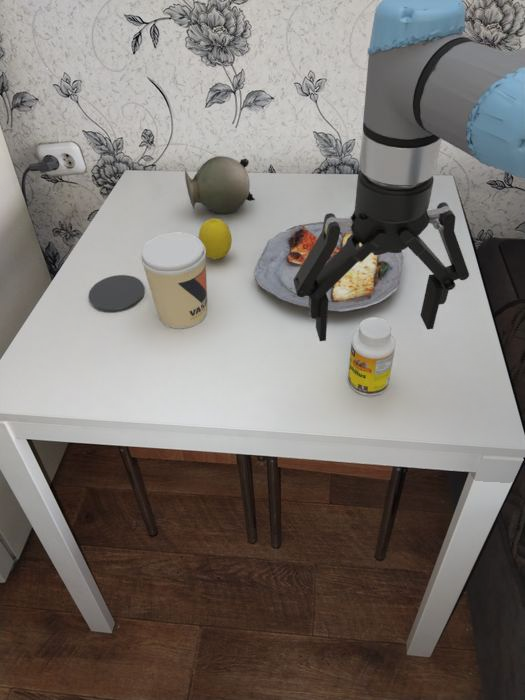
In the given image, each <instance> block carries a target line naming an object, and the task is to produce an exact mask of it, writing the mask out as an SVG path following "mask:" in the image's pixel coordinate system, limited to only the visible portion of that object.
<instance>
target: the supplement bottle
mask: <svg viewBox="0 0 525 700" xmlns="http://www.w3.org/2000/svg"><path fill="white" fill-rule="evenodd" d="M350 343H351V344H350V351H349V352H350V353H349V362H348V363H349V364H348V372H347V373H348V374H347V380H348V381H347V382H348V384H349V386H350V387H351V388H352V390H353V391H355V392H356V393H358V394H359V395H360V394H361V395H363V396H376V395H380V394H382V393H383V392H384V391H385V390H387V388H388V386H389V383H390V379H391V374H392V373H391V372H392V368H393V362H394V356H395V349H396V338H395V337H394V335H393V334H392V326H391V324H390V323H389V322H388V321H387V320H386V319H383V318H381V317H373V316H372V317H367V318H365V319H363V320H362V321H361V322H360V324H359V326H358V329H357V330H356V331H355V332H354V333H353V335H352V336H351V342H350Z"/></svg>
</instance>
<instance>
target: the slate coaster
mask: <svg viewBox="0 0 525 700" xmlns="http://www.w3.org/2000/svg"><path fill="white" fill-rule="evenodd" d="M144 285H145V284H144V283H143V282H142V281H141V280H140V279H139V278H137V277H135V276H132V275H128V274H118V275H111V276H108V277H105V278H103V279H101V280H99V281H98V282H96V283H95V284H94V285H92V287H91V288H90V290H89V292H88V300H89V303H90V305H91V306H92V307H93V308H94V309H95V310H98V311H100V312H104V313H118V312H119V313H120V312H123V311H127V310H129V309H131V308H134V306H135V307H136V305H137V304H139V302H141V301H142V300H143V298H144V296H145V293H146V290H145V286H144Z"/></svg>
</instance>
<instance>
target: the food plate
mask: <svg viewBox="0 0 525 700" xmlns="http://www.w3.org/2000/svg"><path fill="white" fill-rule="evenodd" d="M323 223H324V221H320V222H313V223H311V222H310V223H304V224H298V225H294V226H292V227H290V228H289V229H286V230H285V231H283V232H281V231H280V232H279V233H278V234H277V235H275V236H274V237H272V238H270V239H269V240H268V241H267V243H266V245H265V247H264V249H263V251H262V253H261V255H260V258H259V259H258V261H257V263H256V266H255V268H254V272H253V273H254V278H255V280H256V282H257V284H258V285H259V287H261V288H262V289H263V290H265V291H266V292H267V293H271V294H272V295H273V296H275V297H277V298H278V299H280V300H282V301H284V302H287V303H289V304H294V305H296V306H300V307H305V308H308V304H309V296H304V297H298V296H297V293H296V289H295V286H294V282H293V280H294V278H295V276H296V274H297V273H298V271H299V269H300V268H301V266H302V264H303V263H304V261H305V259H306V258H307V256H308V254H309V253H310V251H311V249H312V247H313V246H314V244H315V242H316V241H317V239H318V237H319V236H320V234H321V232H322V229H323ZM352 234H353V233H352V231H348V232H346V233H345V235H344V236H343V239H342V240H341V241H339V240H338V243H337V246H336V248H335V250H334V251H333V253H332V255H331V256H330V258H329V259H328V261H327V263H328V262H329V261H330V260H331V258H332V257H333V256H334V255H335V254H336V253H337V252H338V251H339V250H340V249H341V248H342V247H343V246H344V245H345V244H346V241H347V239H348V238H349V237H350V236H351V235H352ZM359 246H360V247H361V246H362V244H361V243H359ZM404 258H405V256H404V254H403V251H402V252H401V253H389V252H387V253H384V254H381V255H374V254H373V253H370V254H369V255H368V256H367V257H366V258H365V259H364V260H363V261H362V262H357V263H356V264H355V265H354V266H353V267H352V268H351V269H350V270H349V271H348V272H347V273H346V274H345V275H344V276H343V277H342V278H341V279H340V280H339V281H338V282H337V283H336V284H335V285H334V286H333V287H332V288H331V289H330V290H329V291H328V292H327V293H326V294H327V297H328V311H331V312H350V311H353V310H358V309H359V310H360V309H363V308H369V307H371V306H374V305H376V304H378V303H381V302H382V301H384V300H386V299H387V298H389V297H390V296H391V295H393V294H394V293H395V292H397V290H398V288H399V286H400V280H401V275H402V270H403V264H404ZM327 263H326V264H327ZM326 264H325V265H326Z"/></svg>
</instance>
